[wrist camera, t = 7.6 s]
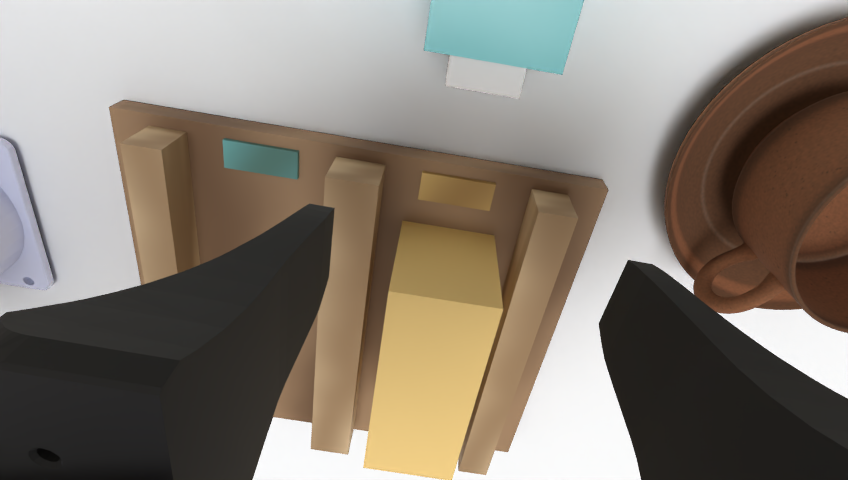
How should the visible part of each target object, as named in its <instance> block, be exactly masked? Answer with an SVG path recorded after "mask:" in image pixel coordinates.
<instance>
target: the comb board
mask: <svg viewBox="0 0 848 480" xmlns="http://www.w3.org/2000/svg"><path fill="white" fill-rule="evenodd" d="M109 110H110V116H111V121H112V127H113V132H114V138H115V143H116V149H117V154H118V160H119V165H120V171H121V176H122V182H123V187H124V193H125V198H126V204H127V209H128V215H129V220H130V226H131V231H132V237H133V242H134V248H135V253H136V259H137V264H138V270H139V275H140V281H141V285H143V284H146V283H150V282H153V281H156V280H159V279H162V278H165V277H168V276H171V275H174V274H177V273H180V272H183V271H185V270H188V269H191V268H193V267H196V266H198V265H200V264H203V263H205V262H208V261H210V260H212V259H214V258H217V257H219V256H221V255H223V254H225V253H227V252H229V251H231V250H233V249H235V248H237V247H238V246H240V245H242V244H244V243H246V242H248V241H250V240H251V239H253V238H255V237H257V236H259V235H261V234H262V233H264V232H265V231H267V230H269V229H270V228H272V227H273V226H275V225H277V224H278V223H280V222H281V221H283V220H284V219H286V218H288V217H289V216H291V215H292V214H294V213H295V212H297V211H298V210H300V209H301V208H303V207H304V206H306V205H308V204H315V205H321V206H326V207H332V208H335V210H334V222H333V235H332V247H331V259H330V271H329V279H328V282H327V285H326V289H325V292H324V295H323V299H322V302H321V305H320V308H319V311H318V313H317V316H316V318H315V320H314V322H313V325H312V327H311V329H310V331H309V333H308V336H307V338H306V340H305V342H304V344H303V346H302V348H301V351H300V353H299V355H298V357H297V359H296V361H295V364H294V366H293V368H292V370H291V372H290V374H289V377H288V379H287V381H286V383H285V386H284V388H283V390H282V393H281V395H280V398H279V400H278V403H277V406H276V409H275V412H274V415H273V417H277V418H284V419H291V420H297V421H304V422H311V423H312V437H311V449H315V450H322V451H328V452H335V453H342V454H348V452H349V447H350V443H351V438H352V433H353V429H357V430H364V431H369V424H370V417H371V410H372V403H373V396H374V389H375V382H376V375H377V368H378V361H379V354H380V347H381V340H382V333H383V326H384V319H385V312H386V305H387V298H388V291H389V286H390V281H391V276H392V271H393V266H394V261H395V256H396V251H397V246H398V241H399V236H400V231H401V226H402V221H408V222H414V223H420V224H426V225H433V226H439V227H445V228H451V229H457V230H464V231H470V232H476V233H482V234H488V235H494V236H495V245H496V253H497V261H498V269H499V278H500V286H501V294H502V303H503V312H502V315H501V319H500V322H499V325H498V328H497V332H496V335H495V338H494V342H493V345H492V348H491V352H490V355H489V358H488V362H487V365H486V368H485V372H484V375H483V378H482V382H481V385H480V388H479V391H478V395H477V398H476V401H475V405H474V408H473V411H472V415H471V418H470V421H469V425H468V428H467V431H466V435H465V438H464V441H463V445H462V448H461V451H460V454H459V458H458V471H463V472H470V473H476V474H483V475H486V473H487V470H488V468H489V465H490V462H491V459H492V457H493V454H494V451H495V450H497V451H504V452H508V451H509V448H510V445H511V443H512V440H513V437H514V435H515V432H516V430H517V427H518V424H519V422H520V419H521V417H522V414H523V411H524V409H525V406H526V404H527V401H528V398H529V396H530V393H531V391H532V388H533V385H534V383H535V380H536V377H537V375H538V372H539V370H540V367H541V364H542V362H543V359H544V357H545V354H546V351H547V349H548V346H549V344H550V341H551V338H552V336H553V333H554V331H555V328H556V325H557V323H558V320H559V317H560V315H561V312H562V310H563V307H564V304H565V302H566V299H567V297H568V294H569V291H570V289H571V286H572V284H573V281H574V278H575V276H576V273H577V271H578V268H579V265H580V263H581V260H582V257H583V255H584V252H585V250H586V247H587V244H588V242H589V239H590V237H591V234H592V231H593V229H594V226H595V224H596V221H597V218H598V216H599V213H600V211H601V208H602V205H603V203H604V200H605V197H606V195H607V192H608V188H607V187H606V185H605V183H604V182H603V180H601V179H595V178H589V177H583V176H577V175H571V174H565V173H559V172H553V171H547V170H541V169H535V168H529V167H523V166H517V165H511V164H505V163H499V162H493V161H487V160H481V159H475V158H469V157H463V156H457V155H451V154H445V153H439V152H433V151H427V150H421V149H415V148H409V147H403V146H397V145H391V144H385V143H379V142H373V141H367V140H361V139H355V138H349V137H343V136H337V135H331V134H325V133H319V132H313V131H307V130H301V129H295V128H289V127H283V126H277V125H271V124H265V123H259V122H253V121H247V120H241V119H235V118H229V117H223V116H217V115H211V114H205V113H199V112H193V111H187V110H181V109H175V108H169V107H163V106H157V105H151V104H145V103H139V102H133V101H127V100H123V101H120V102H118V103H116V104H114V105H112V106H110V107H109Z"/></svg>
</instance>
